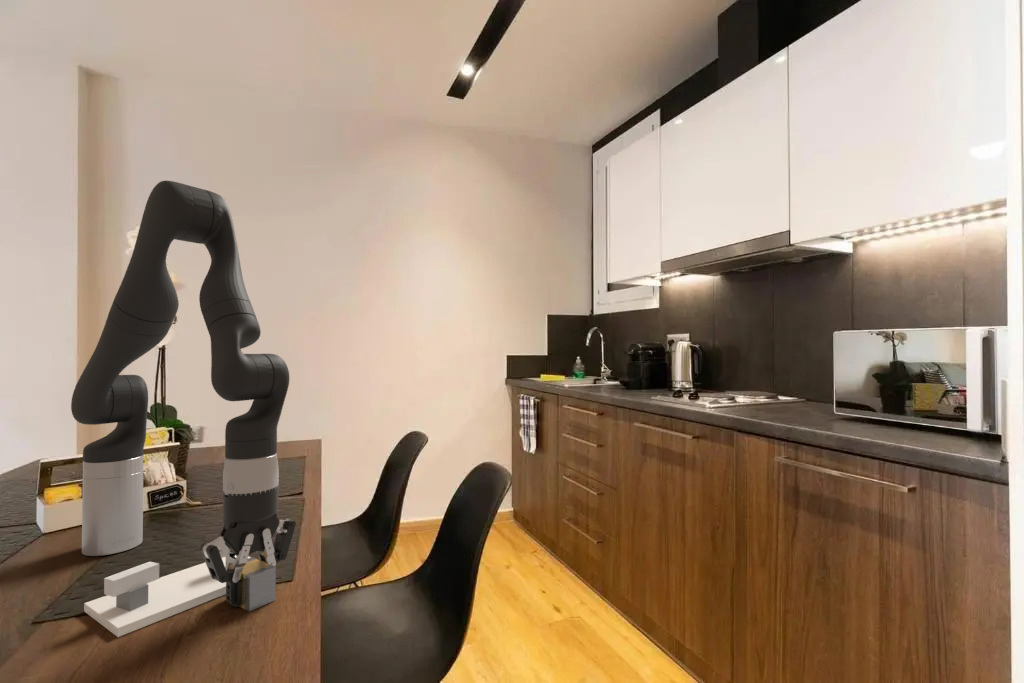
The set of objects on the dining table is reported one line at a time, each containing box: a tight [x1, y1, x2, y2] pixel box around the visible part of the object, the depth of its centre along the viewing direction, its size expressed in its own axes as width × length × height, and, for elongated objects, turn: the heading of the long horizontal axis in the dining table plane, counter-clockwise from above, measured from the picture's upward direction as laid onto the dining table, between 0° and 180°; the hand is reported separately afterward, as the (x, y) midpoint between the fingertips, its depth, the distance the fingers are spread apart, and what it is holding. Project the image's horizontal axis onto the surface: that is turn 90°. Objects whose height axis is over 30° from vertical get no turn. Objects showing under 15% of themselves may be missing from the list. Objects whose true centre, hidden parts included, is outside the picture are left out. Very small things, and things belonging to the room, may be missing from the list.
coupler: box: [239, 556, 277, 612], centre depth 76 cm, size 4×6×5 cm, turn 57°
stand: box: [83, 544, 252, 638], centre depth 78 cm, size 12×22×6 cm, turn 147°
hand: (250, 597), depth 76 cm, fingers closed on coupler, 4 cm apart
